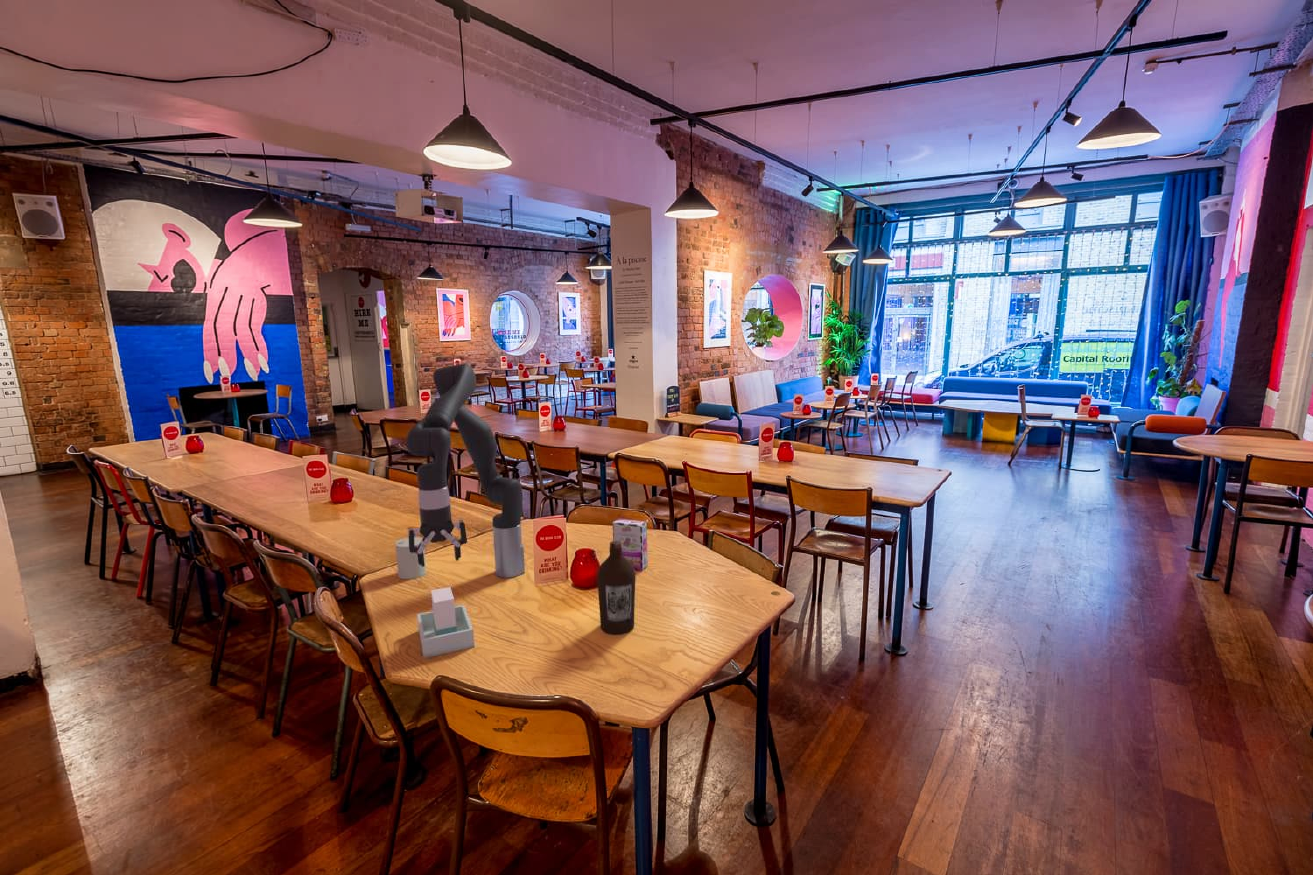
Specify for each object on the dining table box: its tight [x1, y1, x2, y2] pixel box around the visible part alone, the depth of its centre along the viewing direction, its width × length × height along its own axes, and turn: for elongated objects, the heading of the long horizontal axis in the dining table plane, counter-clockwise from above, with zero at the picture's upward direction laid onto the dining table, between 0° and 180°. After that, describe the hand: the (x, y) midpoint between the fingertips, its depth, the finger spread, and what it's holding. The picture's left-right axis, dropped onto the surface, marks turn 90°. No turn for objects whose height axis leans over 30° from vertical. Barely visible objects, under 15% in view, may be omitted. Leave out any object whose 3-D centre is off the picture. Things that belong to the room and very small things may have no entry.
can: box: [394, 536, 428, 580], centre depth 203 cm, size 9×9×12 cm
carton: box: [430, 586, 457, 636], centre depth 161 cm, size 5×8×12 cm, turn 26°
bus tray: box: [416, 604, 475, 660], centre depth 162 cm, size 13×16×5 cm
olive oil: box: [596, 540, 637, 636], centre depth 165 cm, size 11×11×25 cm
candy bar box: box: [612, 518, 649, 572], centre depth 207 cm, size 11×5×16 cm, turn 68°
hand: (440, 562), depth 158 cm, fingers open, 8 cm apart
